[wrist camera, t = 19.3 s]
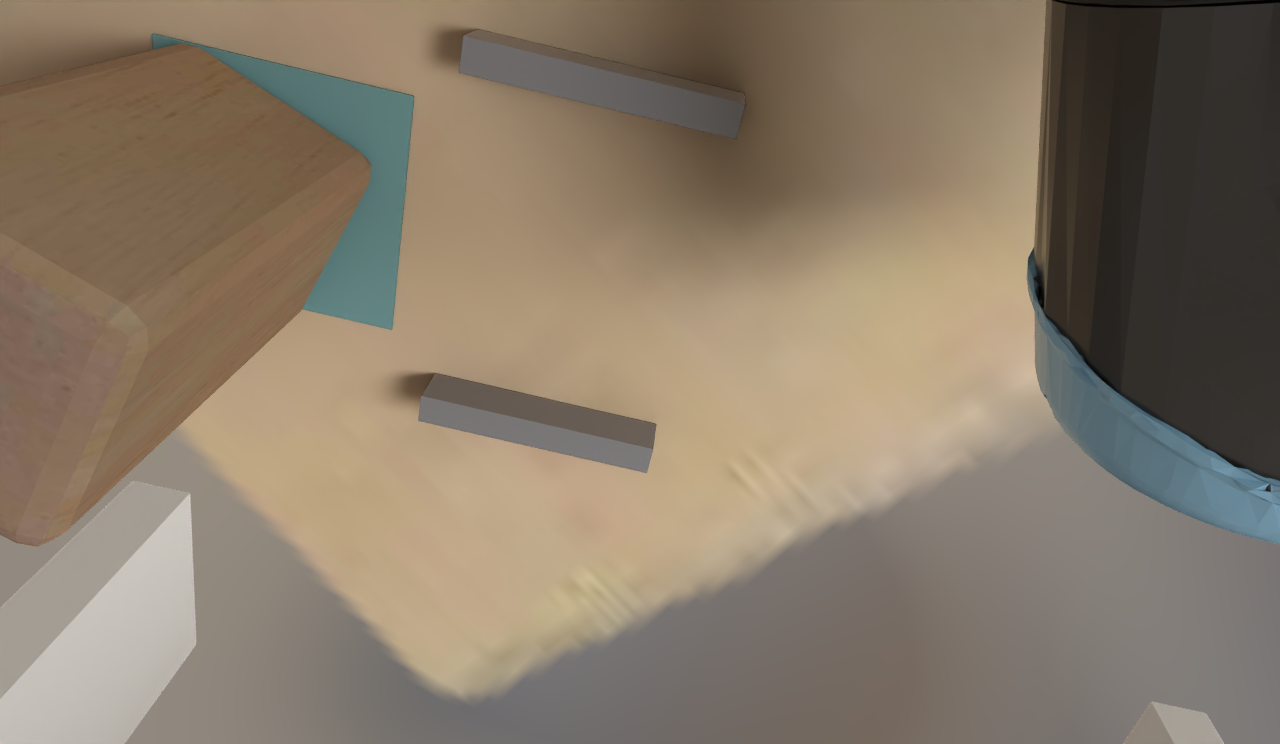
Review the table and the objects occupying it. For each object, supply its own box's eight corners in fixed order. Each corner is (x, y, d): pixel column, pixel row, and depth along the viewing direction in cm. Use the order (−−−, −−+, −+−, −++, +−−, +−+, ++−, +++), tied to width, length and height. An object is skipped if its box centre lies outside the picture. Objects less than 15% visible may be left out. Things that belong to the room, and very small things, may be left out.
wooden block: (119, 207, 44) (-288, 405, 26) (189, 30, 40) (-238, 123, 22) (301, 317, 46) (37, 569, 28) (386, 159, 42) (139, 339, 24)
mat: (414, 96, 40) (413, 96, 40) (392, 329, 46) (391, 329, 46) (153, 33, 40) (152, 33, 40) (162, 275, 46) (161, 276, 45)
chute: (744, 93, 39) (745, 104, 37) (650, 447, 48) (646, 473, 46) (477, 29, 39) (463, 35, 37) (432, 397, 48) (418, 420, 45)
